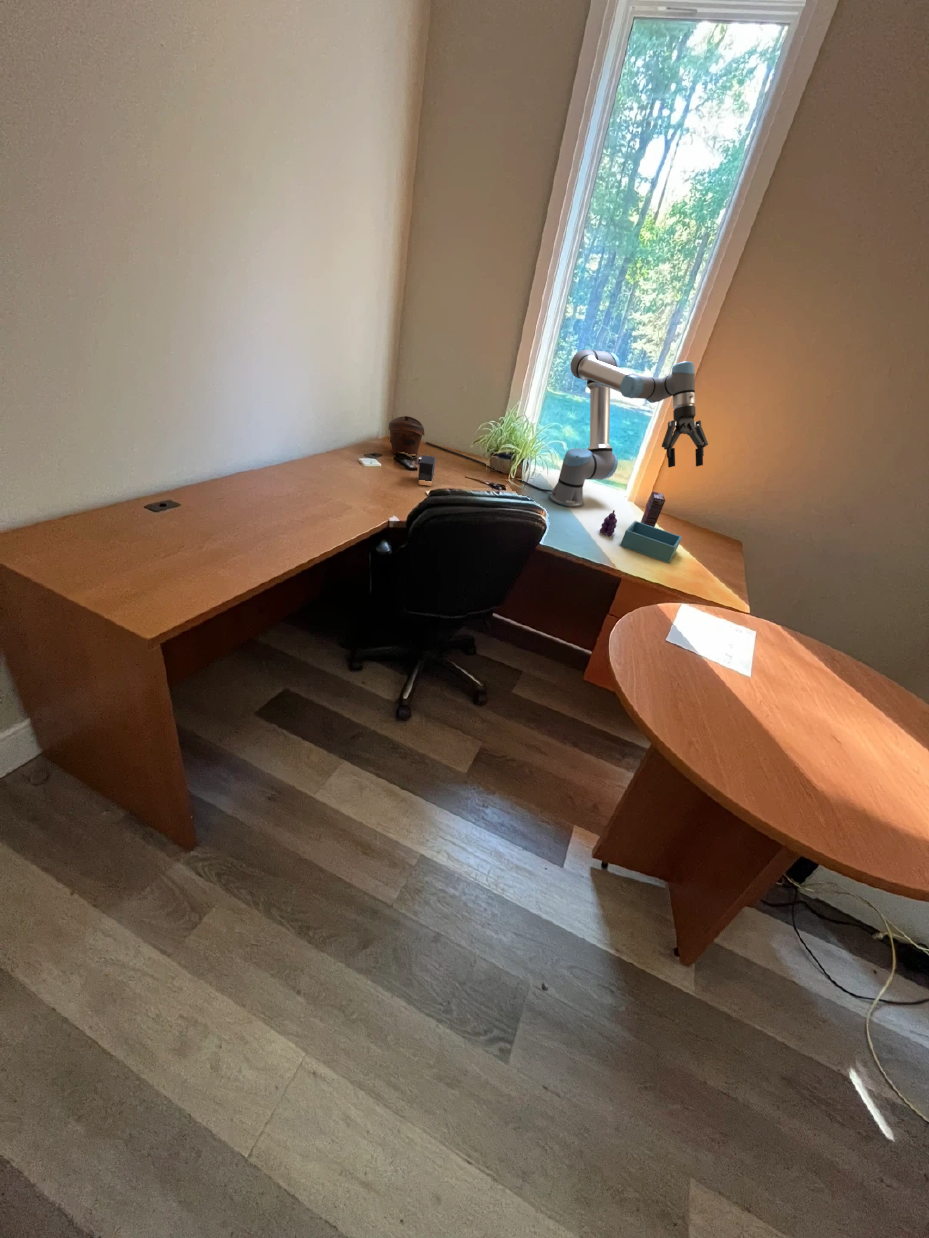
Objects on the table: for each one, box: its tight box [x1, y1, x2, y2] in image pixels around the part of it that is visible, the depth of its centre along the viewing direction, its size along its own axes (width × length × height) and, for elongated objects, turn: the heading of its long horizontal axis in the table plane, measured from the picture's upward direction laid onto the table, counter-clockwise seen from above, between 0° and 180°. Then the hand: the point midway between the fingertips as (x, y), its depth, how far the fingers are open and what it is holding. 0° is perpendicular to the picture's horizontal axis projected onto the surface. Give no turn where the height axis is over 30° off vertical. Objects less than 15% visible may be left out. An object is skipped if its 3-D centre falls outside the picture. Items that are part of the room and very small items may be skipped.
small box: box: [417, 455, 436, 481], centre depth 220 cm, size 11×6×10 cm, turn 178°
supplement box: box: [640, 491, 666, 528], centre depth 210 cm, size 9×5×16 cm, turn 168°
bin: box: [620, 520, 683, 564], centre depth 196 cm, size 20×14×7 cm
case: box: [387, 415, 425, 456], centre depth 247 cm, size 18×20×18 cm
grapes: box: [599, 509, 618, 537], centre depth 202 cm, size 5×5×11 cm
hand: (685, 466), depth 185 cm, fingers open, 13 cm apart
